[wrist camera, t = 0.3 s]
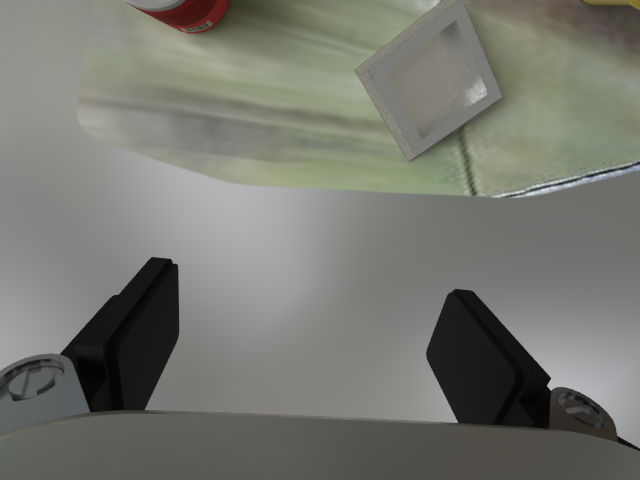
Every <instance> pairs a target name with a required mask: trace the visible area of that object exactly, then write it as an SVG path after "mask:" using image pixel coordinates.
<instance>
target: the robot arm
mask: <svg viewBox="0 0 640 480" xmlns="http://www.w3.org/2000/svg"><path fill="white" fill-rule="evenodd" d="M178 287H179V285H178V265H177V264H173V262H172V260H171V259H166V258H156V257H152V258H151V259H150V260H148V262H147V263H146V264H145V265H144V266H143V267H142V268H141V270H140V271H139V272H138V273H137V274H136V276H135V277H134V278H133V279H132V280H131V281H130V282H129V283H128V285H127V286H126V287H125V288H124V289H123V290H122V292H121V293H120V294H119V295H114V296H112V297H111V298H110V299H109V300H108V301H107V302H106V303H105V304H104V305H103V307H102V308H101V309H100V310H99V311H98V312H97V313H96V314H95V316H94V317H93V318H92V319H91V320H90V321H89V322H88V323H87V324H86V326H85V327H84V328H83V329H82V330H81V331H80V332H79V333H78V334H77V336H76V337H75V338H74V339H73V340H72V341H71V342H70V343H69V345H68V346H67V347H66V348H65V349H64V350H63V351H62V352H61V353H60V355H59V354H41V355H35V356H31V357H27V358H24V359H22V360H20V361H17V362H14V363H13V364H11V365H9V366H7V367H6V368H4V369H2V370H1V371H0V480H640V449H639V448H638V447H636V446H634V445H632V444H631V443H629V442H627V441H625V440H623V439H621V438H620V437H618V436H617V432H616V427H615V424H614V422H613V420H612V418H611V417H610V416H609V414H608V413H607V412H606V411H605V410H604V409H603V408H602V407H601V406H600V405H599V404H597V403H596V402H594V401H593V400H592V399H590V398H589V397H587V396H585V395H583V394H581V393H580V392H577V391H574V390H572V389H569V388H565V387H556V388H554V389H553V390H552V391H550V389H549V388H548V387H547V384H548V383H549V381H550V379H551V377H550V376H549V375H548V374H547V373H546V372H545V371H544V370H543V369H542V368H541V366H540V365H539V364H538V363H537V362H536V361H535V360H534V359H533V357H532V356H531V355H530V354H529V353H528V352H527V351H526V350H525V349H524V347H523V346H522V345H521V344H520V343H519V342H518V341H517V340H516V338H515V337H514V336H513V335H512V334H511V333H510V332H509V331H508V330H507V328H506V327H505V326H504V325H503V324H502V323H501V322H500V321H499V320H498V318H497V317H496V316H495V315H494V314H493V313H492V312H491V311H490V310H489V308H488V307H487V306H486V305H485V304H484V303H483V302H482V301H481V300H480V299H479V298H478V296H477V295H476V294H475V293H474V292H473V291H470V290H461V289H455V290H453V292H451V293H449V294H448V295H447V298H446V300H445V303H444V306H443V308H442V311H441V313H440V316H439V319H438V321H437V324H436V327H435V329H434V332H433V335H432V337H431V340H430V343H429V345H428V348H427V352H426V356H427V360H428V362H429V364H430V366H431V368H432V370H433V372H434V375H435V376H436V378H437V381H438V382H439V385H440V387H441V389H442V390H443V393H444V395H445V396H446V399H447V401H448V403H449V405H450V407H451V409H452V411H453V413H454V415H455V417H456V419H457V420H458V423H445V422H427V421H408V420H388V419H367V418H365V419H364V418H346V417H345V418H344V417H324V416H301V415H277V414H254V413H230V412H204V411H171V410H165V411H164V410H163V411H161V410H145V408H146V406H147V403H148V401H149V399H150V397H151V395H152V393H153V391H154V389H155V387H156V384H157V382H158V380H159V378H160V376H161V374H162V372H163V370H164V368H165V365H166V363H167V361H168V359H169V357H170V355H171V352H172V351H173V349H174V347H175V344H176V342H177V340H178V335H179V291H178V290H179V289H178Z"/></svg>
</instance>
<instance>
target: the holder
mask: <svg viewBox="0 0 640 480" xmlns="http://www.w3.org/2000/svg"><path fill="white" fill-rule="evenodd" d="M354 71H355V73H356V74H357V76H358V78H359V79H360V81H361V83H362V85H363V86H364V88H365V90H366V91H367V93H368V95H369V96H370V98H371V100H372V102H373V103H374V105H375V107H376V108H377V110H378V112H379V113H380V115H381V117H382V118H383V120H384V122H385V124H386V125H387V127H388V129H389V130H390V132H391V134H392V135H393V137H394V139H395V141H396V142H397V144H398V146H399V147H400V149H401V151H402V152H403V154H404V156H405V157H406V159H407V161H408V162H409V161H410V160H412V159H413V158H414V157H416V156H417V155H419V154H421V153H422V152H423V151H425V150H426V149H428V148H429V147H431V146H432V145H434V144H435V143H436V142H438V141H439V140H441V139H442V138H444V137H445V136H447V135H448V134H449V133H451V132H452V131H454V130H455V129H457V128H458V127H459V126H461V125H462V124H464V123H465V122H467V121H468V120H470V119H471V118H472V117H474V116H475V115H477V114H478V113H480V112H481V111H483V110H484V109H485V108H487V107H488V106H490V105H491V104H493V103H494V102H495V101H497V100H498V99H500V98H501V97H503V96H502V94H501V92H500V89H499V87H498V84H497V82H496V80H495V77H494V75H493V72H492V70H491V68H490V65H489V63H488V60H487V58H486V56H485V53H484V51H483V48H482V46H481V44H480V41H479V39H478V36H477V34H476V32H475V29H474V27H473V24H472V22H471V20H470V17H469V15H468V12H467V10H466V8H465V5H464V3H463V0H443V1H441V2H440V3H439V4H438V5H436V6H435V7H434V8H432V9H431V10H430V11H429V12H427V13H426V14H425V15H424V16H422V17H421V18H420V19H418V20H417V21H416V22H415V23H413V24H412V25H411V26H410V27H408V28H407V29H406V30H404V31H403V32H402V33H401V34H399V35H398V36H397V37H396V38H394V39H393V40H392V41H390V42H389V43H388V44H387V45H385V46H384V47H383V48H382V49H380V50H379V51H378V52H376V53H375V54H374V55H373V56H371V57H370V58H369V59H368V60H366V61H365V62H364V63H362V64H361V65H360V66H359V67H357V68H356V69H355V70H354Z"/></svg>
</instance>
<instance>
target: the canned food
mask: <svg viewBox="0 0 640 480" xmlns="http://www.w3.org/2000/svg"><path fill="white" fill-rule="evenodd" d="M123 1H124V2H126V3H127V4H129V5H131V6H133V7H134V8H136V9H138V10H140V11H142V12H144V13H146V14H148V15H150V16H152V17H153V18H155V19H157V20H159V21H161V22H163V23H165V24H167V25H169V26H171V27H173V28H175V29H177V30H179V31H182V32H187V33H200V32H204V31H206V30H208V29H211V28H212V27H213V26H215V25H216V24H217V23H218V22H219V21H220V20H221V18H222V17H223V16H224V14H225V12H226V10H227V7H228V4H229V0H123Z"/></svg>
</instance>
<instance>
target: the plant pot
mask: <svg viewBox="0 0 640 480" xmlns="http://www.w3.org/2000/svg"><path fill="white" fill-rule="evenodd" d="M582 1H584V2H585V3H587V4H590V5H631V6H633V7H634V8H636V9H639V10H640V0H582Z"/></svg>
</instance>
